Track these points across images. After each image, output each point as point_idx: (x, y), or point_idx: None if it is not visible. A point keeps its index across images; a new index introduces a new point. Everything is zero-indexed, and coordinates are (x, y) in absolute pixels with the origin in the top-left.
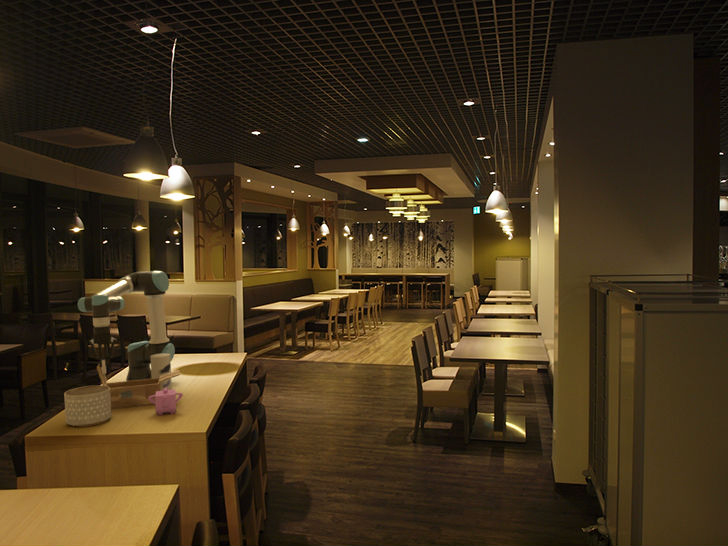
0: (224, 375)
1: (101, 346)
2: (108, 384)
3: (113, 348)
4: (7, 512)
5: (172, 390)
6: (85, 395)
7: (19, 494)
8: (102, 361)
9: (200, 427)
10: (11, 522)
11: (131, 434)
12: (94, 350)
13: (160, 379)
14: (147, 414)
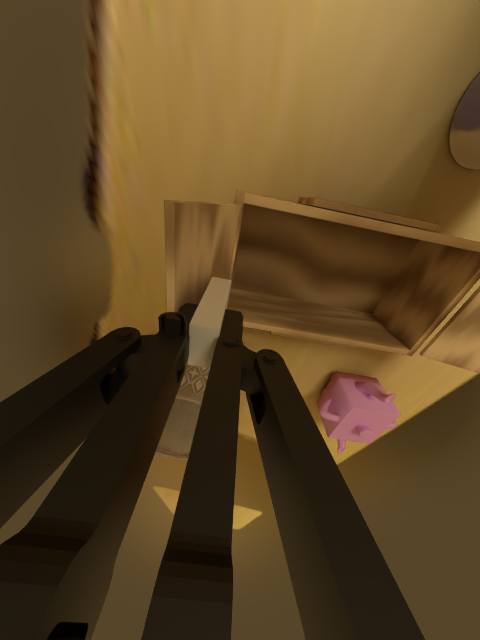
0: None
1: (100, 546)
2: (246, 203)
3: (336, 477)
4: (164, 501)
5: (388, 418)
6: (177, 457)
7: (163, 490)
8: (194, 361)
9: (341, 457)
10: (170, 507)
11: (256, 441)
12: (40, 476)
13: (442, 339)
14: (306, 379)
